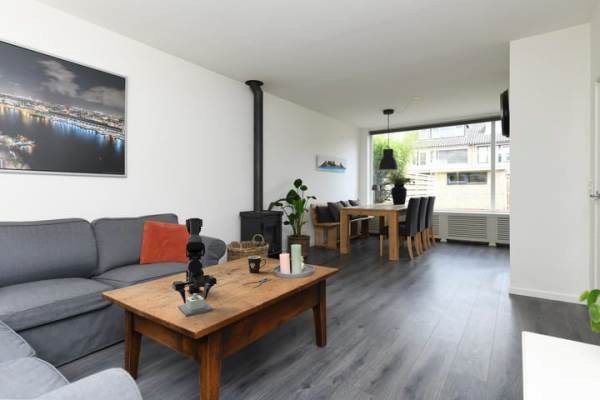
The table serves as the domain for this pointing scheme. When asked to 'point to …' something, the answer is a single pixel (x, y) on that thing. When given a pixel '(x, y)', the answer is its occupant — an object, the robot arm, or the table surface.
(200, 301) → the hollow square sleeve
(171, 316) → the table surface
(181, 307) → the post stand
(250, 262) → the coffee mug
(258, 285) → the pliers
